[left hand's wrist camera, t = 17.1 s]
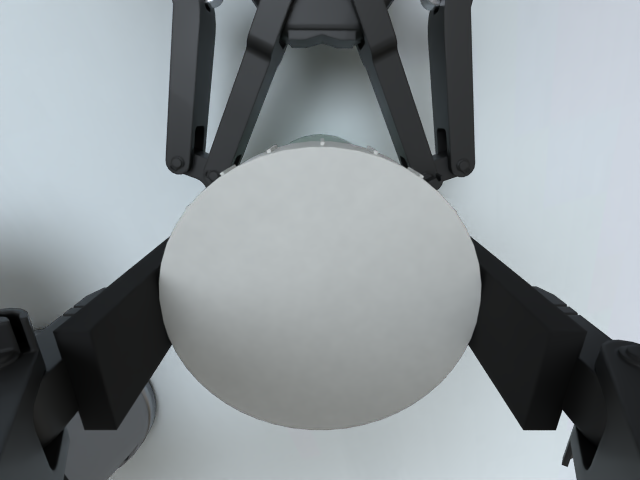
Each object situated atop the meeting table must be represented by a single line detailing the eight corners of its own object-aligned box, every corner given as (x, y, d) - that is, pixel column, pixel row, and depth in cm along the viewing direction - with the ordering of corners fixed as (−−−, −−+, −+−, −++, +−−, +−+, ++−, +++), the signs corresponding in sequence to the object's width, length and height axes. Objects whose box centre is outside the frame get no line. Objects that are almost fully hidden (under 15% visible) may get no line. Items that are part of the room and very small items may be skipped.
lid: (470, 128, 10) (504, 131, 8) (448, 382, 14) (469, 425, 12) (154, 148, 10) (118, 155, 9) (209, 393, 14) (192, 438, 12)
